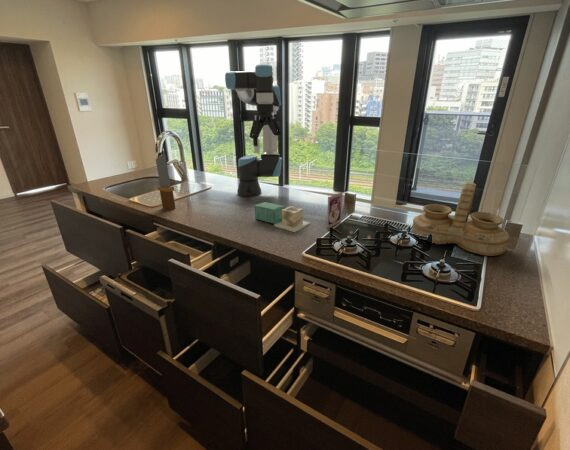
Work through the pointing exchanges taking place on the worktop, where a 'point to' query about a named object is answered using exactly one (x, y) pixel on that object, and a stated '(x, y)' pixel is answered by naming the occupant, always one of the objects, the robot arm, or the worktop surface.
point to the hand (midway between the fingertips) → (266, 151)
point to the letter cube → (292, 216)
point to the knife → (165, 183)
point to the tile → (292, 227)
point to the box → (269, 212)
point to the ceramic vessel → (463, 226)
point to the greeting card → (334, 209)
